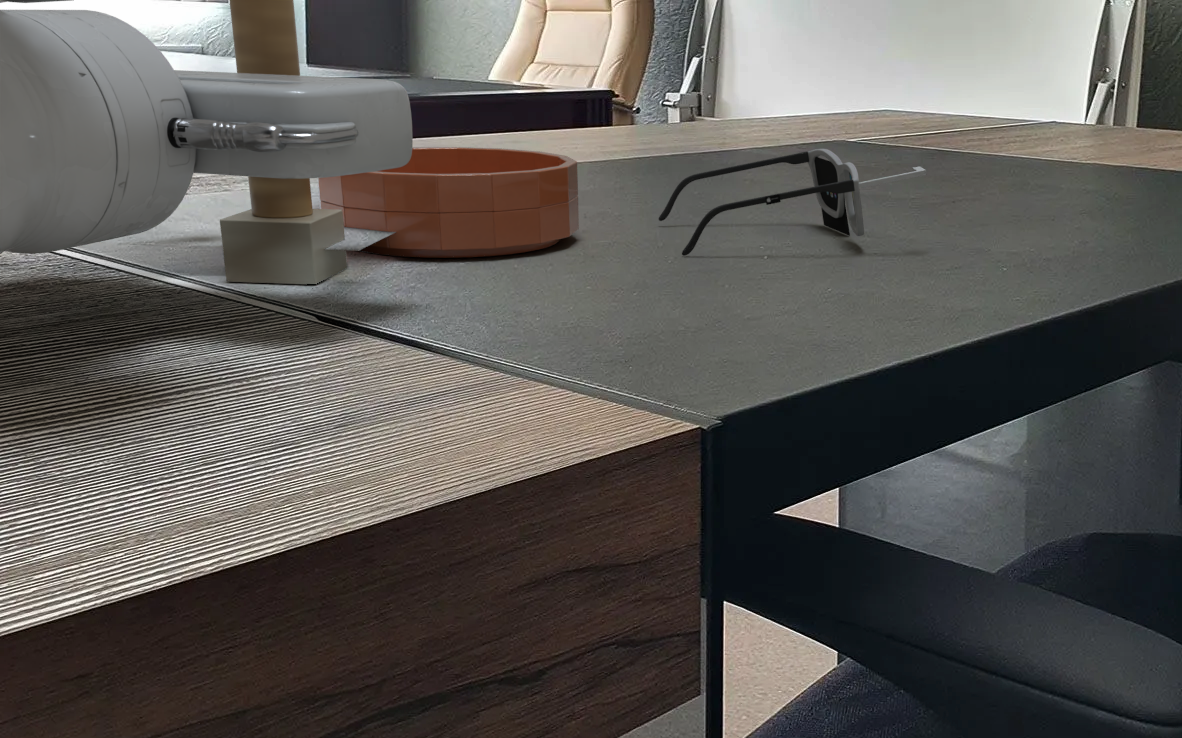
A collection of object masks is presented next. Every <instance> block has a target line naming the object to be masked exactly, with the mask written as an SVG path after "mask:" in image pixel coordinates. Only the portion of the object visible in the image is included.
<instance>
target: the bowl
mask: <svg viewBox="0 0 1182 738" xmlns="http://www.w3.org/2000/svg"><path fill="white" fill-rule="evenodd" d="M578 179H579V178H578V161H577V160H576V159H574V158H572V157H570V156H567V155H564V154H557V153H551V152H545V151H538V150H526V149H514V148H513V149H512V148H502V147H501V148H498V147H497V148H495V147H467V146H465V147H463V146H458V147H457V146H437V147H435V146H433V147H432V146H431V147H429V146H428V147H425V146H424V147H422V146H421V147H412V155H411V159H410V161H409V162H408V163H407V164H406V165H404V166H402V167H399V168H394V169H388V170H381V171H374V172H367V173H359V174H351V175H343V176H335V177H325V178H316V183H317V193H318V204H319V205H318V206H319V209H337V210H342V211H343V223H344V228H352V229H360V230H369V231H378V232H389V233H391V234H390V235H389V234H388V235H386V236H385V237H383V238H381V239H378V240H377V241H375V242H373V243H370V244H369V245H367V246H365V247H362V248H361V249H358V250H359V251H358V252H362V251H363V252H364V253H367V252H368V254H373V253H374V255H380V256H381V255H382V256H389V257H403V258H420V259H421V258H424V259H426V258H427V259H429V258H430V259H458V258H459V259H465V258H466V259H467V258H483V257H496V256H497V257H498V256H509V255H516V254H517V255H518V254H524V253H529V252H530V253H531V252H534V251H535V252H536V251H539V250H543V249H546V248H549V247H552V246H555V245H557V244H558V243H559V242H560V241H561V239H566V238H570V237H571V236H572V235H574V233H576V232H577V231H578V230H579V229H580V216H579V215H580V214H579V213H580V211H579V182H578V181H579V180H578Z"/></svg>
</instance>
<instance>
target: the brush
mask: <svg viewBox="0 0 1182 738" xmlns="http://www.w3.org/2000/svg"><path fill="white" fill-rule="evenodd" d="M294 1H295V0H229V9H230V19H231V27H232V38H233V48H234V57H235V67H236V73H251V74H273V75H295V76H301V67H300V56H299V45H298V37H297V35H298V33H297V24H296V14H295V2H294ZM247 180H248V189H249V197H250V198H249V199H250V209H247V210H245V211H241V212H239V213H235V214H233V215H229V216H226V217H224V218H221V219H219V226H220V236H221V243H222V244H221V245H222V255H223V261H224V262H223V263H224V270H225V279H226V282H229V283H250V284H251V283H252V284H253V283H254V284H279V285H280V284H284V285H307V284H316V285H317V283H318V284H319V282H320V283H321V281H322V282H323V280H324V281H325V280H328V279H329V278H331V277H333V276H335V275H337V274H339V273H341V272H343V271H345V270H347V269H348V259H347V249H333V248H332V249H331V248H330V247H332V246H334V245H336V244H339V243H341V242H343V241H345V240H346V236H345V227H344V223H343V211H342V210H337V209H320V208H313V200H312V189H311V178H305V179H280V178H264V177H248V176H247ZM338 272H339V273H338ZM332 275H333V276H332Z"/></svg>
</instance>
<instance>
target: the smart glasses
mask: <svg viewBox="0 0 1182 738" xmlns="http://www.w3.org/2000/svg"><path fill="white" fill-rule="evenodd" d="M820 156H822V157H824V158H821V157H820ZM783 163H784V164H790V165H801V164H805V163H807V164H808V167H809V169H810V174H811V178H812V183H813V186H810V187H805V188H800V189H795V190H790V191H785V192H780V193H775V194H770V195H764V196H760V197H754V198H748V199H743V200H740V201H734V202H729V203H724V204H721V205H718V206H716V207H713V208H712V209H710V210H709V211H708V212H707V213H706V214H705V215H704V217H702V219H701V220H700V222H699V223H698V225H697V226H696V228H695V231H694V232H693V234H692V236H691V238H690V240H689V241H688V243H687V244H686V246H684V248H683V250H682V251H681V255H682V256H687V255H689V254H690V253H692V251H694V249H695V247H696V245H697V243H698V241H699V239H700V237H701V235H702V234H703V232H704V230H705V228H706V226H707V225H708V224H709V223H710V221H712V219H713V218H714V217H716V216H717V215H719V214H721V213H723V212H727V211H731V210H736V209H737V210H738V209H741V208H747V207H752V206H758V205H762V204H765V205H766V206H769V205H773V204H778V203H781V201H782V200H787V199H793V198H797V197H803V196H807V195H813V194H815V197H816V199H817V203H818V204H819V206H820V208H821V216H822V222H823V226H824V227H827V228H830V229H832V230H834V231H836V232H839V233H841V234H844V235H847V236H849V237H850V236H851V231H850V228H851V230H852V231H853V233H854V234H855V235H856V236H857V237H861V236H864V235H865V225H864V215H863V207H862V199H861V189H864V188H869V187H874V186H878V185H879V186H880V185H884V184H889V183H893V182H899V181H904V180H908V179H913V178H918V177H923V176H927V169H925V168H923V167H922V166H914V167H912V171H910V172H905V173H900V174H895V175H889V176H885V177H879V178H874V179H869V180H865V181H860V179H859V173H858V169H857V167H856V166H855V164H854V163H852V162H850V161H848V162H842V160H841V158H840V157H839V156H838V155H837V154H835V152H833V151H831V150H830V149H827V148H816V149H812V150H809V151H801V152H797V153H792V154H788V155H781V156H778V157H773V158H767V159H763V160H758V161H752V162H747V163H742V164H738V165H733V166H728V167H723V168H718V169H714V170H709V171H704V172H699V173H695V174H692V175H691V174H690V175H689V176H687V177H685V178H684V179H682V180H681V181H679V183H678V185H677V186H676V187H675V189H674V190H673V192H672V194H671V196H670V197H669V199H668V201H667V204H666V206H665V207H664V209H663V211H662V212H661V214H659V216H658V221H659V222H662V221H663V222H664V220H666V219H668V217H669V216H670V213H671V212H672V209H673V207H674V205H675V203H676V200H677V199H678V197H679V195H680V194H681V192H682V191H683V190H684V189H685V188H686V187H687V186H688V185H689V184H691V183H693V182H694V181H697V180H702V179H703V180H704V179H708V178H713V177H718V176H721V175H722V176H723V175H729V174H732V173H738V172H742V171H746V170H748V171H749V170H752V169H757V168H763V167H766V166H771V165H776V164H783Z"/></svg>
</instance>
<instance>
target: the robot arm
mask: <svg viewBox="0 0 1182 738" xmlns="http://www.w3.org/2000/svg"><path fill="white" fill-rule="evenodd" d="M68 1H69V2H71V1H72V2H73V0H0V4H2V3H17V4H18V3H19V4H33V3H50V2H51V3H52V2H68ZM413 138H414V137H413V120H412V110H411V101H410V97H409V94H408V91H407V90H406V88H405V87H404V86H403V85H402V84H401V83H400V82H397V81H395V80H389V79H383V78H382V79H380V78H364V77H363V78H362V77H361V78H359V77H337V76H335V77H334V76H319V75H317V76H314V75H300V76H295V75H273V74H251V73H237V72H227V71H226V72H225V71H205V70H204V71H202V70H181V69H174V68H173V66H172V65H171V63H170V62H169V60H168V59H167V57H166V56H165V55H164V54H163V53H162V51H161V50H160V49H159V48H158V47H157V45H155V43H154V42H153V41H152V40H150V39H149V38H148V37H147V36H146V35H145V34H144V33H142V32H141V31H140V30H138V29H137V28H136V27H134V26H133V25H131V24H129V22H126V21H124V20H122V19H120V18H118V17H116V16H113V15H110V14H108V13H106V12H100V11H97V10H90V9H89V10H88V9H0V254H2V253H4V252H7V253H15V254H26V255H35V254H48V253H53V252H58V251H63V250H66V249H67V250H68V249H73V248H77V247H81V246H82V247H83V246H86V245H91V244H95V243H100V242H106V241H110V240H113V239H119V238H123V237H128V236H129V237H130V236H134V235H137V234H141V233H145V232H148V231H150V230H152V229H153V228H155V227H158V225H161V224H162V223H164V222H165V221H166V220H167V219H168V218H170V216H171V215H173V214H174V212H175V211H176V210H177V209H178V207H180V205H181V203H182V202H183V200H184V198H185V196H186V194H187V192H188V190H189V188H190V185H191V182H192V179H193V175H194V174H202V175H203V174H204V175H219V176H233V177H247V178H248V177H264V178H280V179H305V178H310V179H317V178H325V177H335V176H343V175H351V174H359V173H367V172H374V171H381V170H388V169H394V168H399V167H402V166H404V165H406V164H407V163H408V162H409V161H410V159H411V155H412V148H413V143H414V142H413V140H414V139H413Z"/></svg>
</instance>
